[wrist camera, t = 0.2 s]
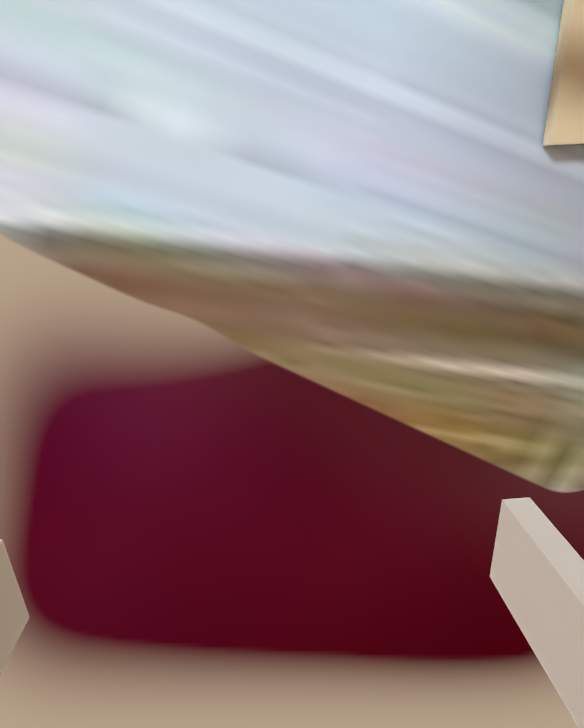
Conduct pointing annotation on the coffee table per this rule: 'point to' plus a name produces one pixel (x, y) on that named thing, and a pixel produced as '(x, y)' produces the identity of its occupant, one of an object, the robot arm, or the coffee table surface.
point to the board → (568, 80)
